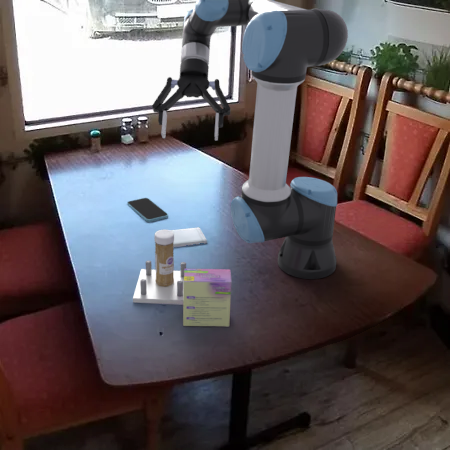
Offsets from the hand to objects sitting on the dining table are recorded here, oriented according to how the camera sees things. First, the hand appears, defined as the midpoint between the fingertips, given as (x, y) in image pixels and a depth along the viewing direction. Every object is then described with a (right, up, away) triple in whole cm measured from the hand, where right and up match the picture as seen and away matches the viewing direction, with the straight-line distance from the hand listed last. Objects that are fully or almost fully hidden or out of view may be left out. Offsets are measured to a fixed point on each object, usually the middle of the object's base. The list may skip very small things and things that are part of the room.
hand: (189, 137), depth 165 cm
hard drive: (-3, -27, +14) cm, 31 cm away
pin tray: (-6, -38, -9) cm, 39 cm away
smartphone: (-14, -19, +29) cm, 37 cm away
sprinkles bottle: (-6, -37, -9) cm, 38 cm away
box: (+5, -44, -20) cm, 49 cm away
